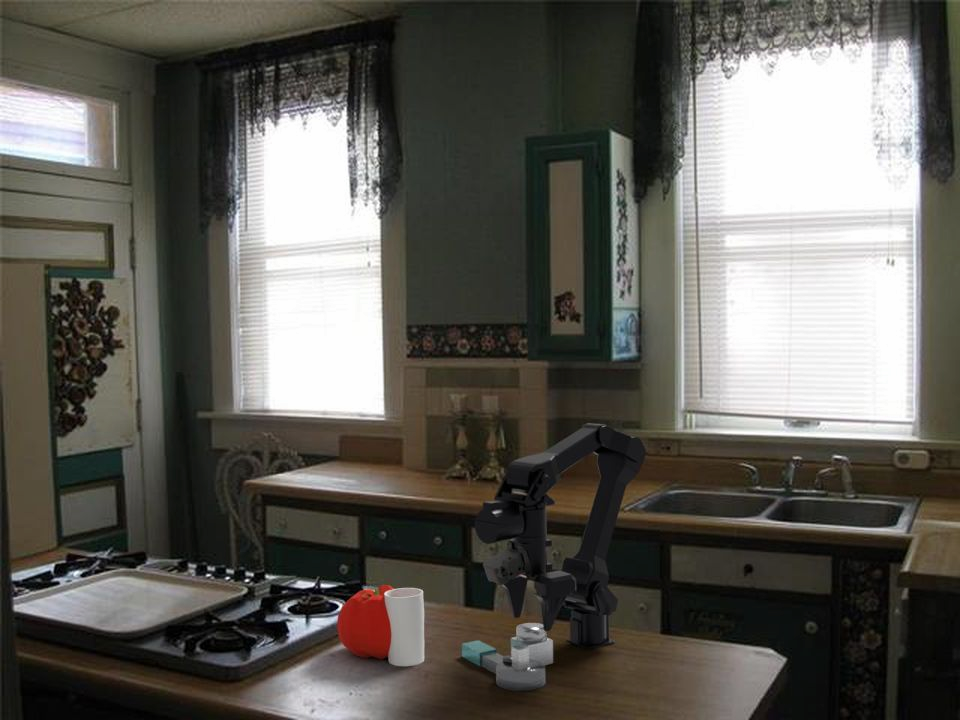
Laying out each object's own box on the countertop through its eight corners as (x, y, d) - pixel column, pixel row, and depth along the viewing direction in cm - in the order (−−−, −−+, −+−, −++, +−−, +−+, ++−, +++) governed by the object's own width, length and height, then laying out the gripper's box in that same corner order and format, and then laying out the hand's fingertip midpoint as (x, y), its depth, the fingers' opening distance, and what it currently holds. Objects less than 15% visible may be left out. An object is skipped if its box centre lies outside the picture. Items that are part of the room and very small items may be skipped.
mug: (413, 669, 171) (411, 598, 170) (379, 665, 173) (376, 595, 173) (441, 652, 180) (438, 584, 179) (408, 648, 182) (405, 582, 182)
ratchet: (450, 659, 176) (449, 627, 175) (489, 651, 180) (488, 619, 180) (513, 694, 158) (513, 658, 158) (555, 684, 163) (554, 649, 162)
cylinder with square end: (535, 654, 177) (535, 621, 177) (553, 663, 173) (552, 628, 173) (511, 660, 174) (510, 626, 174) (528, 669, 170) (527, 633, 170)
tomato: (394, 669, 170) (392, 600, 170) (323, 661, 176) (320, 594, 176) (430, 646, 182) (427, 582, 182) (362, 639, 188) (359, 577, 188)
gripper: (461, 531, 177) (463, 619, 177) (521, 550, 161) (523, 647, 161) (514, 523, 182) (516, 608, 183) (577, 541, 167) (579, 634, 167)
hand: (531, 624), depth 173 cm, fingers open, 9 cm apart
